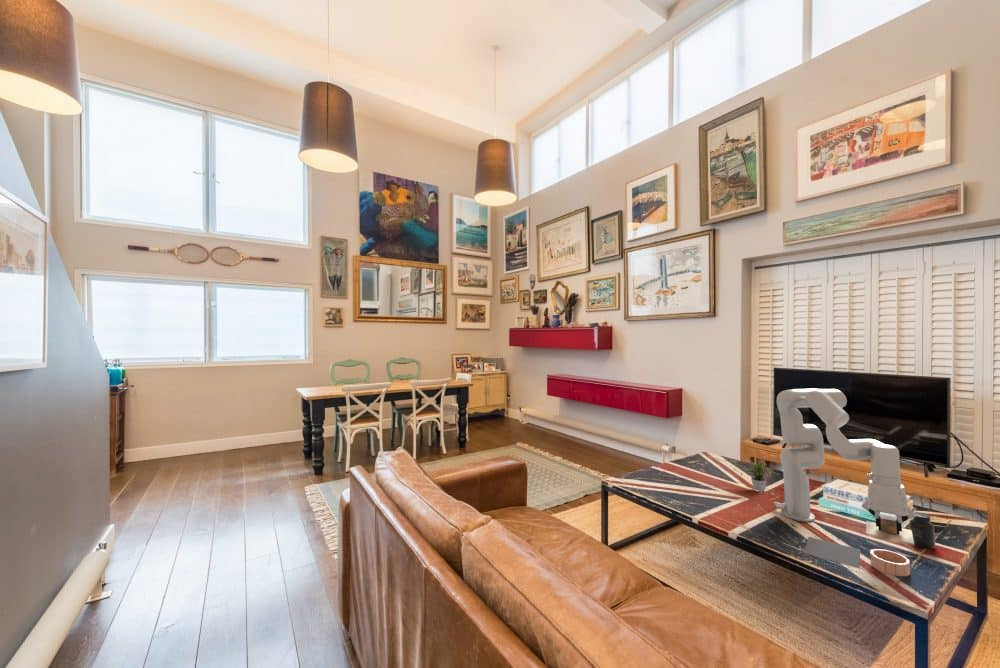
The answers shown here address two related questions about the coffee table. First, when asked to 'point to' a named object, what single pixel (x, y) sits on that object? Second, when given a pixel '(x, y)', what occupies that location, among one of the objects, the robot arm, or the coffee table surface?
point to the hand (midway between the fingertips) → (888, 530)
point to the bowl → (890, 562)
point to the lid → (889, 531)
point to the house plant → (758, 476)
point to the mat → (833, 552)
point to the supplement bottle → (922, 531)
